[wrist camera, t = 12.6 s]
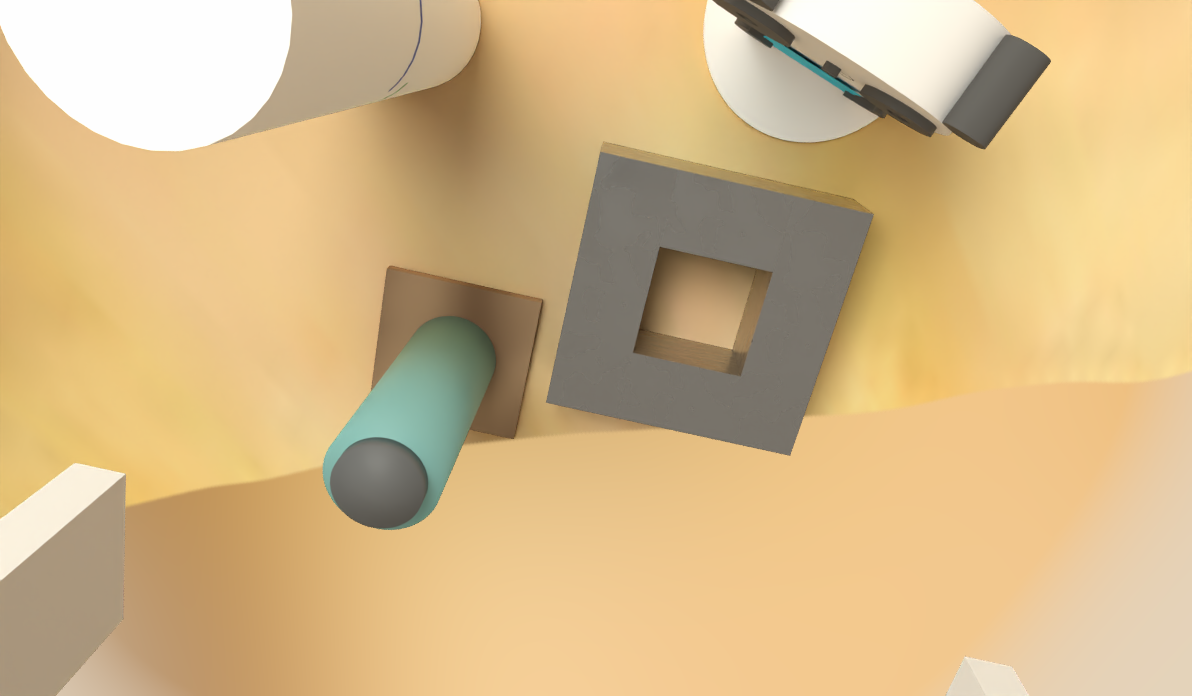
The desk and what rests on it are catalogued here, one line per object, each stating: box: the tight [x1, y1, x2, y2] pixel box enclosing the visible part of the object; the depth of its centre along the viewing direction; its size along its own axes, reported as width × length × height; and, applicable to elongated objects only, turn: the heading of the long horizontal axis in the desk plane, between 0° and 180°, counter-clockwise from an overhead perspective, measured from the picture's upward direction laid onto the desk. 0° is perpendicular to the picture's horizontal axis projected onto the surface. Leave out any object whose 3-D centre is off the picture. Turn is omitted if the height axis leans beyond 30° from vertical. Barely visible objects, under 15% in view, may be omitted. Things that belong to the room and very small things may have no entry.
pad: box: [371, 266, 542, 439], centre depth 49 cm, size 9×9×1 cm
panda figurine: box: [703, 0, 1051, 149], centre depth 35 cm, size 12×11×15 cm
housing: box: [546, 142, 874, 455], centre depth 45 cm, size 14×14×4 cm
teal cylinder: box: [323, 316, 496, 530], centre depth 41 cm, size 5×5×15 cm
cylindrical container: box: [0, 0, 481, 151], centre depth 31 cm, size 7×7×25 cm
